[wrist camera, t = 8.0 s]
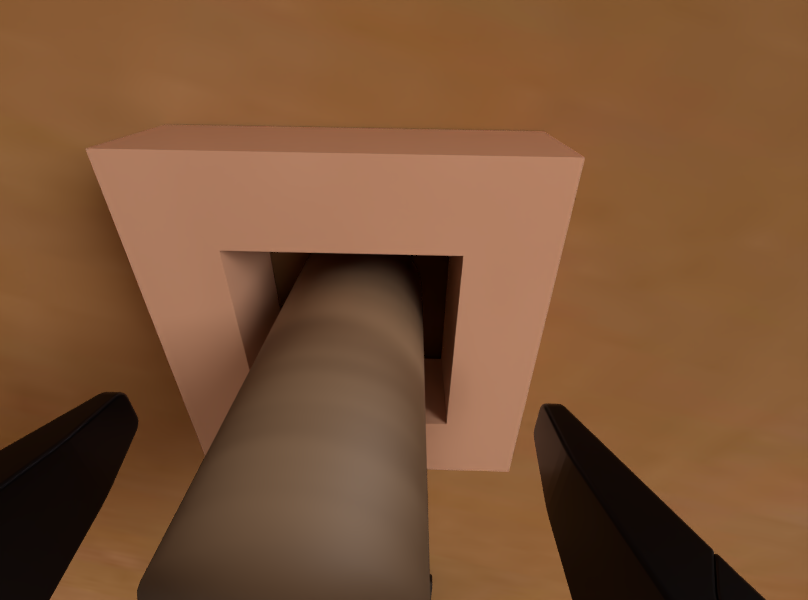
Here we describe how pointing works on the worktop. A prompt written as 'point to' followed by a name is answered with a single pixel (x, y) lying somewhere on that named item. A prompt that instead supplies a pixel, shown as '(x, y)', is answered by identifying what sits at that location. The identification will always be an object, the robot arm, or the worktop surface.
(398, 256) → the peg
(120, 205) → the socket block
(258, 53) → the worktop surface
